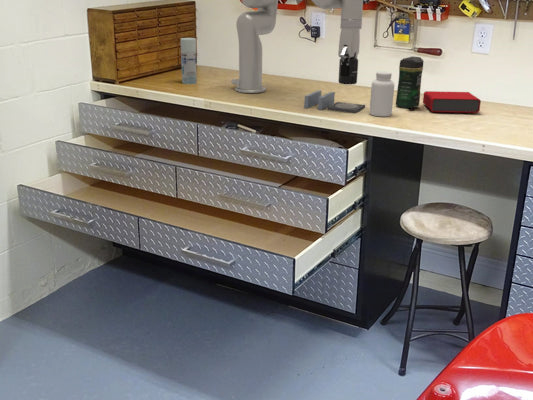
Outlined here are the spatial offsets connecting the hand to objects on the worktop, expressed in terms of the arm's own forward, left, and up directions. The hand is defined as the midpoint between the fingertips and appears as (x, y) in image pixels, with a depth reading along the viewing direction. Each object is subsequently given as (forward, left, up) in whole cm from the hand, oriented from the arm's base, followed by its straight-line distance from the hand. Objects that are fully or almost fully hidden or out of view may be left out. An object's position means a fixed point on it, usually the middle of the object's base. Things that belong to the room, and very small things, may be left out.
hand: (348, 74), depth 232 cm
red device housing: (+34, +22, -13) cm, 43 cm away
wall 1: (-14, 0, -13) cm, 19 cm away
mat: (0, 0, -13) cm, 13 cm away
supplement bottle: (0, 0, -3) cm, 3 cm away
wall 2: (-8, 0, -13) cm, 15 cm away
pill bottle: (+14, -3, -13) cm, 19 cm away
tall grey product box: (-76, +11, -13) cm, 78 cm away
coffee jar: (+19, +16, -13) cm, 28 cm away
